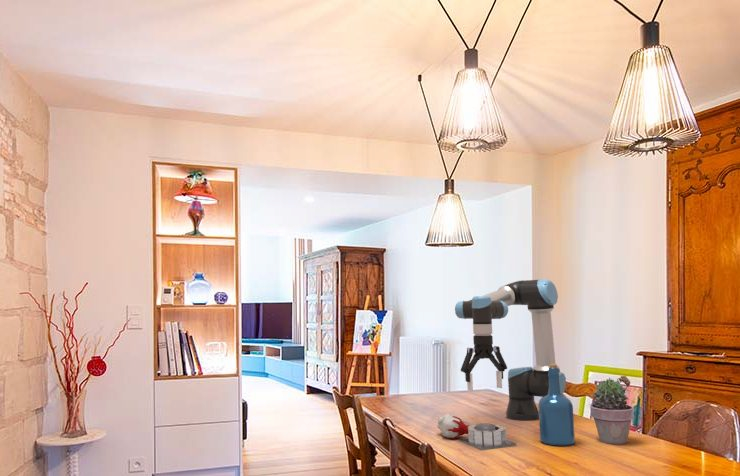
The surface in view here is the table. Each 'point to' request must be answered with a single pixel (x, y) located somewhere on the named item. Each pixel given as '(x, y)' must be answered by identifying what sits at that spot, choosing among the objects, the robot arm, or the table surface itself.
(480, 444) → the square flange collar
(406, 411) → the table surface
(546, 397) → the wine bottle
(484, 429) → the cap
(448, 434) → the candle
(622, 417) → the potted plant
